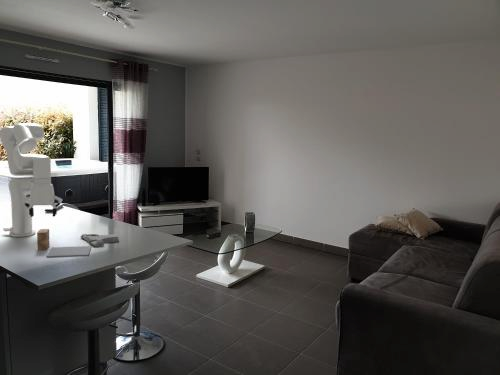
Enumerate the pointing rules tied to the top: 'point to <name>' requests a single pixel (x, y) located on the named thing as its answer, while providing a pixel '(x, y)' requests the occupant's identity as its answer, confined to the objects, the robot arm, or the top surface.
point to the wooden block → (42, 239)
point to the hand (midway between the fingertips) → (43, 216)
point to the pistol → (99, 239)
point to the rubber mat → (69, 251)
